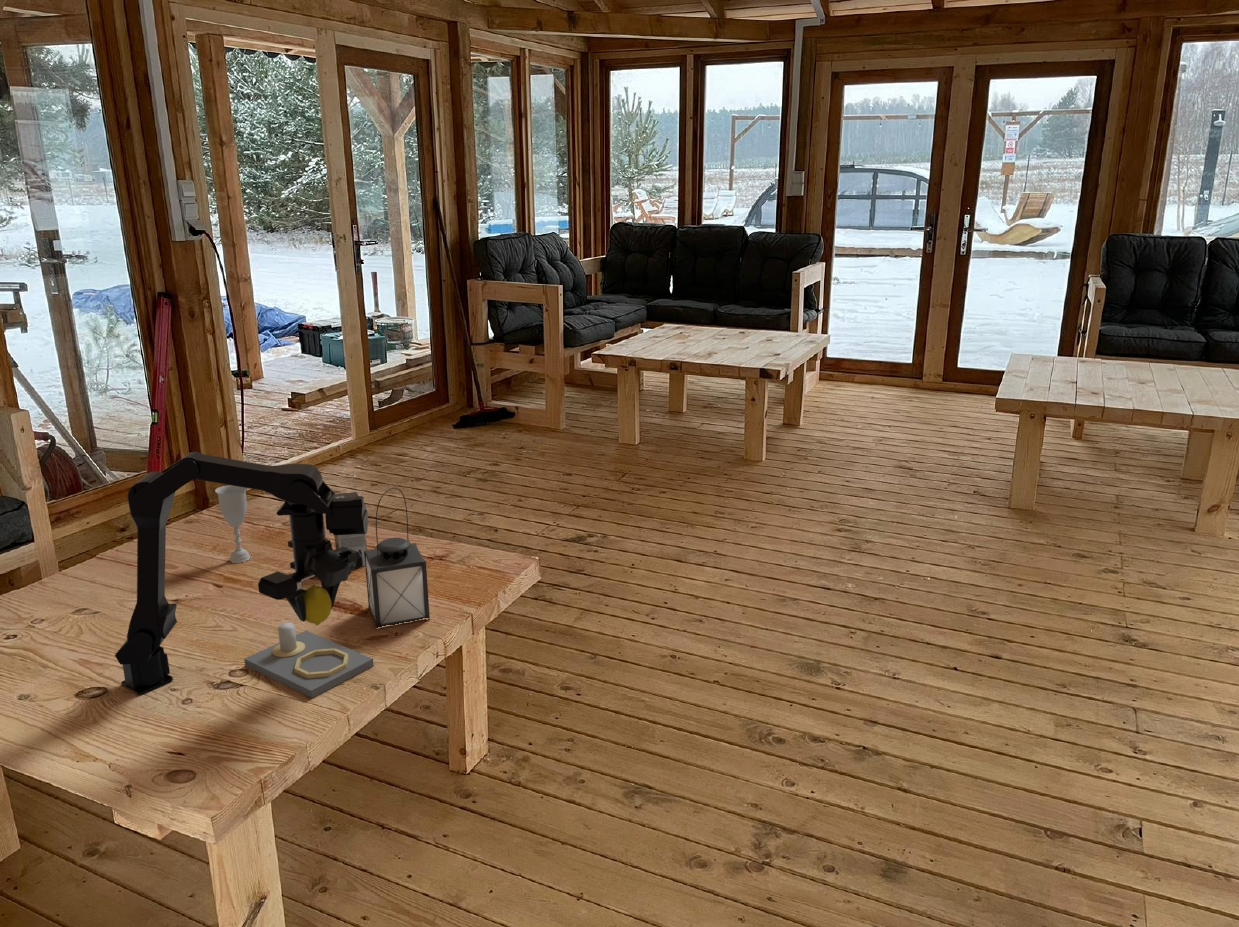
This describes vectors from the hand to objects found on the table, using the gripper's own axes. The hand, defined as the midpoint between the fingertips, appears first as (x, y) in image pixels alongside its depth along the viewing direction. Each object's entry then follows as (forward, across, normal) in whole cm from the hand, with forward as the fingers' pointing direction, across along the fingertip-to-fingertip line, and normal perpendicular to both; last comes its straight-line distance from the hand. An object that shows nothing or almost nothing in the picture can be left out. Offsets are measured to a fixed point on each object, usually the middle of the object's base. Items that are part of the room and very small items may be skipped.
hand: (316, 614), depth 169 cm
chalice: (+12, +23, +61) cm, 66 cm away
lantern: (+12, +25, +7) cm, 29 cm away
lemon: (+2, 0, 0) cm, 2 cm away
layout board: (+12, 0, +4) cm, 12 cm away
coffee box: (+12, +38, +38) cm, 55 cm away
